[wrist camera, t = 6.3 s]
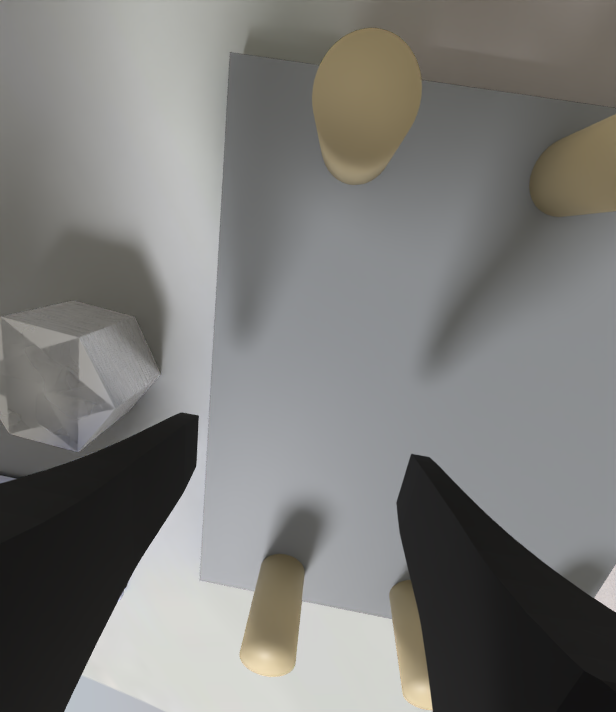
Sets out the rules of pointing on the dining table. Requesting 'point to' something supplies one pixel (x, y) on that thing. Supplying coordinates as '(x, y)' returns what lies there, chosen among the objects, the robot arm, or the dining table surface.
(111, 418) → the faceted star polyhedron
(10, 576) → the robot arm
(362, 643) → the dining table surface
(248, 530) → the board
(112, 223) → the dining table surface
